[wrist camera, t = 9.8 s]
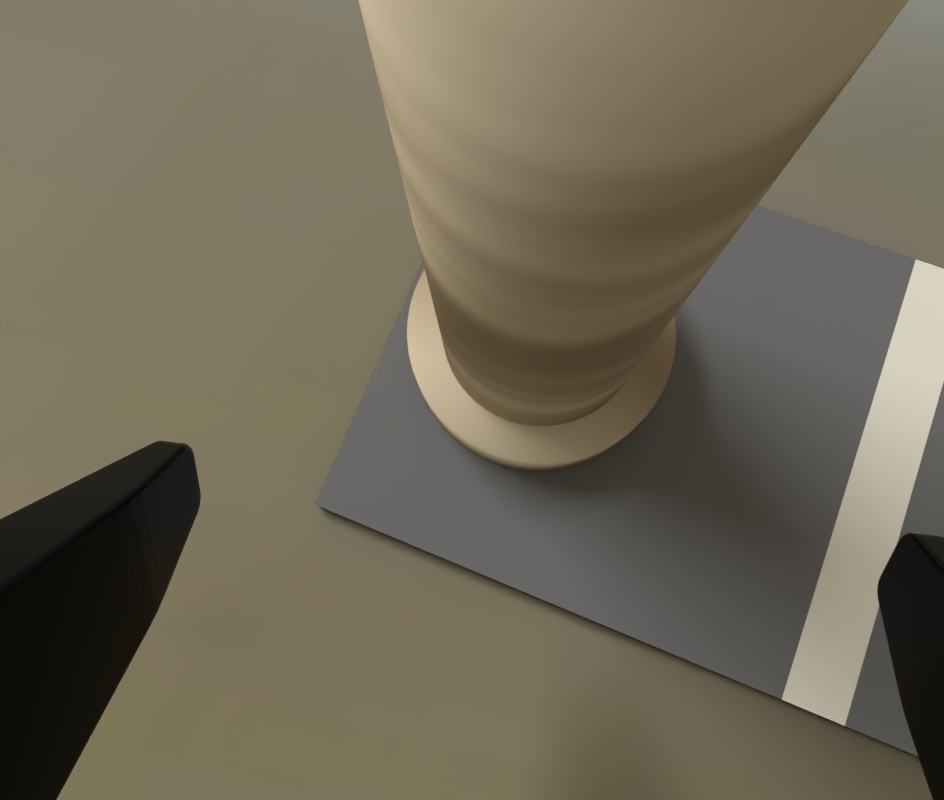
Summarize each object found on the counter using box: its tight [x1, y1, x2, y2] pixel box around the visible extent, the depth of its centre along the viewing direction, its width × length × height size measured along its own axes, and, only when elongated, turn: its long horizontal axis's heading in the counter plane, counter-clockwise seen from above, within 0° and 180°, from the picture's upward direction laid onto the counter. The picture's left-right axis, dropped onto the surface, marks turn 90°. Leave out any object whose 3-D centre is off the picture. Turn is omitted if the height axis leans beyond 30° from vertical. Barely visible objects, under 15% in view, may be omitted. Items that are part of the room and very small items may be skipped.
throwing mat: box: [315, 205, 944, 756], centre depth 17 cm, size 24×11×1 cm, turn 68°
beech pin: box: [359, 0, 909, 471], centre depth 11 cm, size 6×6×14 cm
